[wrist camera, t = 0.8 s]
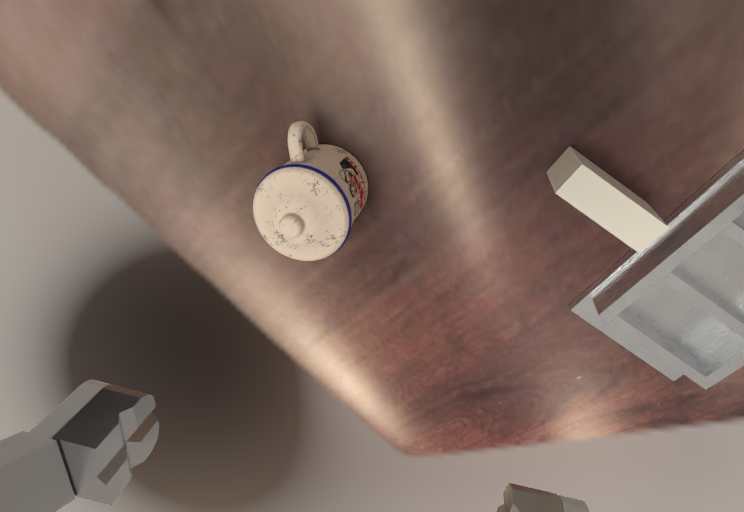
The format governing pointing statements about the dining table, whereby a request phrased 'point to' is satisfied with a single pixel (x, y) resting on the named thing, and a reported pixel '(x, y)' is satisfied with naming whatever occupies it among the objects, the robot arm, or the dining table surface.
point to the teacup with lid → (310, 198)
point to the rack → (682, 288)
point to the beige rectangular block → (605, 200)
